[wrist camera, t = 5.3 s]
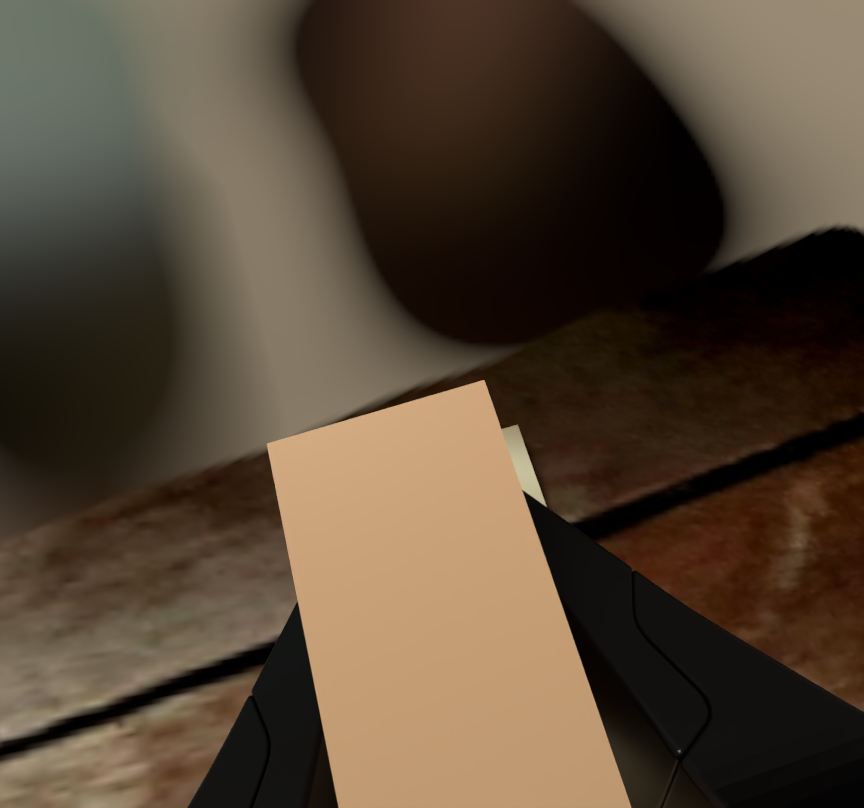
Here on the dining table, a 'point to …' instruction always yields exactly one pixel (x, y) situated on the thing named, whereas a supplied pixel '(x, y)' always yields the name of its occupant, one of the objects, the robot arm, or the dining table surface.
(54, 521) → the dining table surface
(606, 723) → the robot arm
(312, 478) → the peach rectangular post
